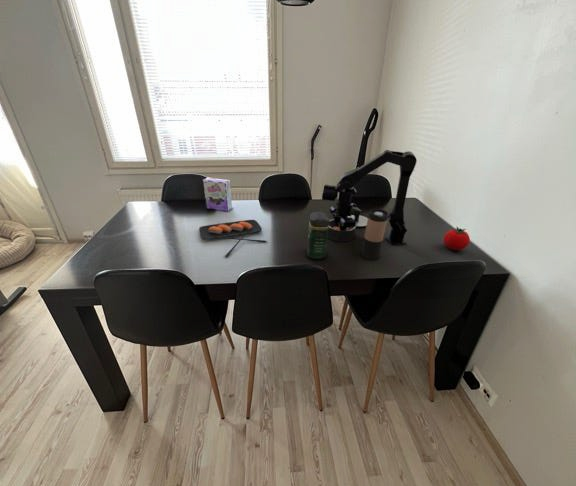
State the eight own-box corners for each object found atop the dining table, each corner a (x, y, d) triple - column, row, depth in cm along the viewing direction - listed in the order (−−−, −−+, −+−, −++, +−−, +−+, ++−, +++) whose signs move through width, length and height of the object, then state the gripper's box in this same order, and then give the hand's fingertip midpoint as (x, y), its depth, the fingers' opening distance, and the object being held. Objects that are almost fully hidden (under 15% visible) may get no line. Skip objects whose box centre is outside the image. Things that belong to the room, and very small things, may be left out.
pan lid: (374, 226, 152) (376, 216, 149) (348, 228, 149) (349, 218, 146) (362, 215, 164) (364, 206, 161) (337, 217, 161) (339, 207, 158)
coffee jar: (326, 260, 124) (331, 219, 113) (308, 260, 123) (311, 219, 113) (323, 248, 132) (327, 209, 121) (306, 248, 131) (308, 209, 121)
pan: (358, 240, 139) (360, 229, 136) (331, 242, 137) (332, 232, 134) (347, 227, 150) (349, 217, 147) (322, 229, 148) (323, 219, 145)
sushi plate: (255, 222, 153) (255, 215, 151) (273, 249, 130) (273, 241, 128) (198, 229, 144) (197, 222, 142) (207, 260, 121) (206, 252, 119)
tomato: (468, 249, 135) (477, 229, 129) (460, 257, 129) (468, 236, 123) (445, 241, 141) (453, 221, 135) (436, 248, 135) (443, 228, 129)
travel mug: (365, 249, 132) (374, 207, 121) (381, 255, 128) (392, 212, 117) (357, 255, 127) (365, 212, 116) (373, 262, 123) (383, 217, 112)
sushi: (345, 231, 145) (345, 225, 144) (347, 235, 142) (348, 229, 141) (332, 232, 144) (332, 226, 142) (334, 236, 141) (335, 230, 139)
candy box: (206, 208, 167) (201, 179, 157) (211, 205, 171) (207, 176, 162) (228, 212, 163) (225, 182, 154) (232, 208, 168) (230, 179, 159)
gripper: (369, 208, 128) (363, 240, 137) (352, 193, 143) (348, 223, 152) (345, 209, 126) (341, 241, 135) (331, 195, 141) (328, 224, 150)
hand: (340, 232), depth 143 cm, fingers open, 4 cm apart
